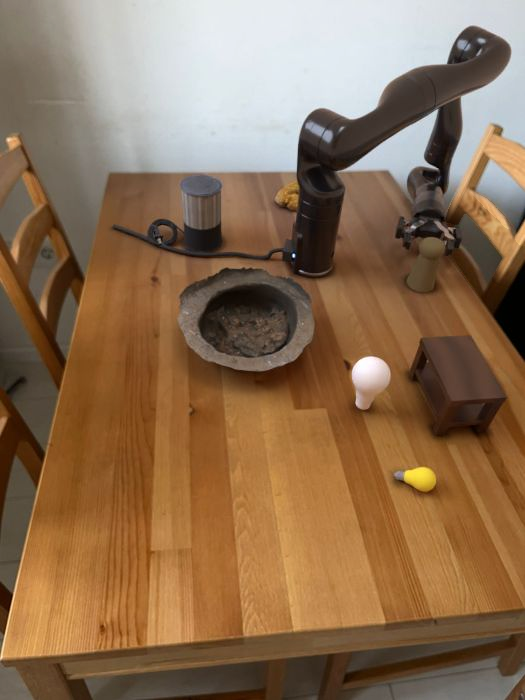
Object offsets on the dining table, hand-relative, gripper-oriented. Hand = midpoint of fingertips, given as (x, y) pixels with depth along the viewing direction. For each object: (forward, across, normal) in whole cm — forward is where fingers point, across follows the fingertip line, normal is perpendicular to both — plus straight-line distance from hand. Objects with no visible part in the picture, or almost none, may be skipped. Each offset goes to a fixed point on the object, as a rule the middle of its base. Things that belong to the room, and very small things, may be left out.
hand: (428, 249), depth 111 cm
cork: (+4, 0, +7) cm, 8 cm away
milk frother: (+3, -54, +7) cm, 55 cm away
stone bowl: (+32, -32, +7) cm, 46 cm away
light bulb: (+55, -1, +7) cm, 55 cm away
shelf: (+37, +5, +7) cm, 38 cm away
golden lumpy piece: (-23, -33, +7) cm, 41 cm away
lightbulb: (+42, -10, +7) cm, 44 cm away
